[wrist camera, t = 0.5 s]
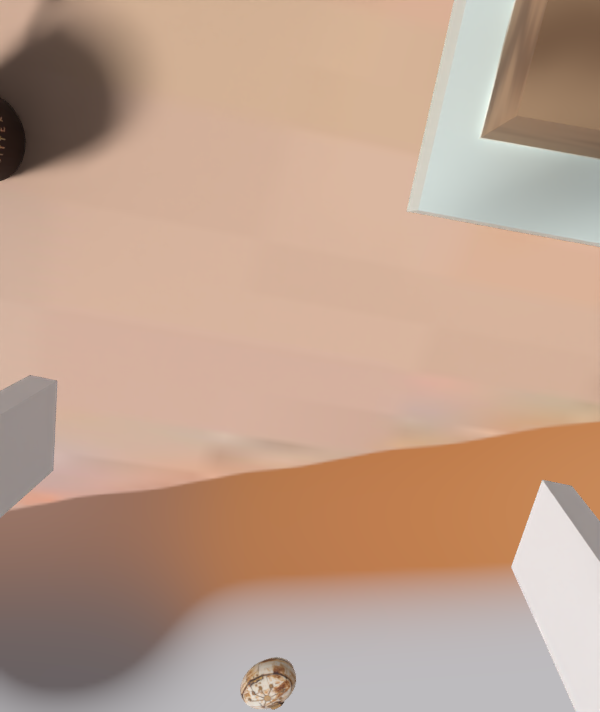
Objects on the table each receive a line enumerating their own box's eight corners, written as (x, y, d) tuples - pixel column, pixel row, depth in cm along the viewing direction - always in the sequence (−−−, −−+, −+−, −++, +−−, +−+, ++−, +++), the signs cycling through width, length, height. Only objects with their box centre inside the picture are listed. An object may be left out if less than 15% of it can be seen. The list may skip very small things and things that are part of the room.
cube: (513, 1, 28) (565, -66, 22) (643, 23, 28) (736, -38, 21) (479, 138, 30) (516, 115, 23) (600, 160, 30) (673, 143, 23)
